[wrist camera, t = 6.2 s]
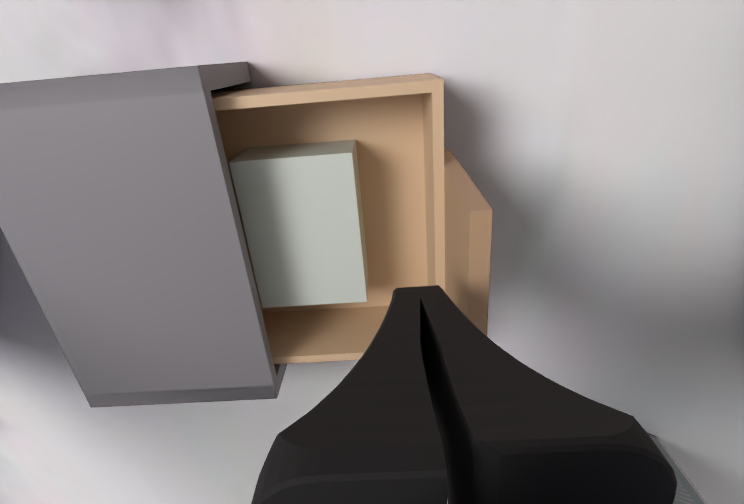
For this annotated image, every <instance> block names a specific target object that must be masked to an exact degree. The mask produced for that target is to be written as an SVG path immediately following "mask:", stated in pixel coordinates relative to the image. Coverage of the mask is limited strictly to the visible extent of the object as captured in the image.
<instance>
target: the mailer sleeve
mask: <svg viewBox="0 0 744 504" xmlns="http://www.w3.org/2000/svg"><path fill="white" fill-rule="evenodd" d="M250 81H251V78H250V73H249V67H248V62H237V63H224V64H212V65H199V66H188V67H177V68H166V69H155V70H144V71H133V72H122V73H111V74H100V75H89V76H78V77H67V78H56V79H45V80H34V81H22V82H11V83H0V228H1V229H2V231H3V233H4V235H5V237H6V239H7V241H8V243H9V245H10V247H11V249H12V251H13V253H14V255H15V257H16V259H17V261H18V263H19V265H20V267H21V269H22V271H23V273H24V275H25V277H26V279H27V281H28V283H29V285H30V287H31V289H32V291H33V293H34V295H35V297H36V299H37V301H38V303H39V305H40V307H41V309H42V311H43V313H44V315H45V317H46V319H47V321H48V323H49V325H50V327H51V329H52V331H53V333H54V335H55V337H56V339H57V341H58V343H59V345H60V347H61V349H62V351H63V353H64V355H65V357H66V359H67V361H68V363H69V365H70V367H71V369H72V371H73V373H74V375H75V377H76V379H77V381H78V383H79V385H80V387H81V389H82V391H83V393H84V395H85V397H86V399H87V401H88V403H89V405H90V407H109V406H130V405H151V404H171V403H192V402H213V401H233V400H254V399H274V398H277V396H278V393H279V390H280V386H281V383H282V380H283V376H284V373H285V370H286V366H287V363H286V364H274V362H273V358H272V354H271V349H270V345H269V341H268V337H267V332H266V328H265V324H264V319H263V315H262V311H261V306H260V302H259V298H258V294H257V289H256V285H255V281H254V276H253V272H252V268H251V264H250V259H249V255H248V251H247V246H246V242H245V238H244V233H243V229H242V225H241V221H240V216H239V212H238V208H237V203H236V199H235V195H234V191H233V186H232V182H231V178H230V173H229V169H228V165H227V160H226V156H225V152H224V148H223V143H222V139H221V135H220V130H219V126H218V122H217V118H216V113H215V109H214V105H213V100H212V96H211V92H210V91H211V90H216V89H220V88H224V87H229V86H233V85H237V84H241V83H246V82H250Z"/></svg>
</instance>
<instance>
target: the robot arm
mask: <svg viewBox="0 0 744 504" xmlns="http://www.w3.org/2000/svg"><path fill="white" fill-rule="evenodd" d="M676 489H677V480H676V476H675V473H674V470H673V468H672V467H671V465H670V464H669V462H668V461H667V460H666V458H665V457H664V455H663V454H662V453H661V451H660V449H659V448H658V447H657V445H656V444H655V443H654V441H653V440H652V439H651V437H650V436H649V435H648V434H647V433H646V431H645V430H644V429H643V428H642V427H641V425H640V424H639V423H638V422H637V421H636V419H635V418H634V417H633V416H631V415H628V414H626V413H623V412H621V411H618V410H616V409H613V408H611V407H608V406H606V405H603V404H601V403H598V402H596V401H593V400H591V399H588V398H586V397H584V396H582V395H580V394H578V393H575V392H573V391H571V390H569V389H567V388H565V387H563V386H561V385H559V384H557V383H555V382H553V381H552V380H550V379H548V378H546V377H544V376H543V375H541V374H539V373H538V372H536V371H534V370H533V369H531V368H529V367H528V366H526V365H524V364H523V363H521V362H520V361H518V360H517V359H515V358H514V357H512V356H511V355H510V354H508V353H507V352H506V351H504V350H503V349H501V348H500V347H499V346H497V345H496V344H495V343H494V342H493V341H491V340H490V339H489V338H488V337H487V336H486V335H485V334H483V333H482V332H481V331H480V330H479V329H478V328H477V327H476V326H475V325H474V324H473V323H472V322H471V321H470V320H469V319H468V318H467V317H466V316H465V315H464V314H463V313H462V312H461V311H460V309H459V308H458V307H457V306H456V305H455V304H454V303H453V301H452V300H451V299H450V298H449V297H448V295H447V294H446V293H445V292H444V290H443V289H442V288H441V287H440V286H439V285H434V286H418V287H402V288H396V289H395V290H394V291H393V295H392V299H391V302H390V305H389V308H388V310H387V313H386V315H385V317H384V319H383V321H382V324H381V326H380V328H379V330H378V331H377V333H376V335H375V337H374V338H373V340H372V342H371V343H370V345H369V347H368V348H367V350H366V351H365V353H364V354H363V356H362V357H361V358H360V360H359V361H358V362H357V364H356V365H355V366H354V367H353V369H352V370H351V371H350V372H349V373H348V375H347V376H346V377H345V378H344V379H343V380H342V382H341V383H340V384H339V385H338V386H337V387H336V388H335V389H334V390H333V391H332V392H331V393H330V394H329V395H327V396H326V397H325V398H324V399H323V400H322V401H321V402H320V403H319V404H318V405H317V406H316V407H314V408H313V409H312V410H311V411H310V412H308V413H307V414H306V415H304V416H303V417H301V418H300V419H299V420H297V421H296V422H295V423H293V424H292V425H290V426H289V427H288V428H286V429H285V430H283V431H282V432H280V433H279V434H278V435H277V437H276V439H275V441H274V443H273V445H272V447H271V449H270V451H269V453H268V456H267V458H266V461H265V463H264V465H263V467H262V470H261V473H260V475H259V478H258V481H257V485H256V488H255V492H254V496H253V500H252V503H251V504H447V499H448V504H673V502H674V499H675V496H676Z"/></svg>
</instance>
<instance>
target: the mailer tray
mask: <svg viewBox="0 0 744 504" xmlns="http://www.w3.org/2000/svg"><path fill="white" fill-rule="evenodd" d="M211 96H212V100H213V105H214V109H215V113H216V118H217V122H218V126H219V130H220V135H221V139H222V143H223V148H224V152H225V156H226V160H227V165H228V169H229V173H230V178H231V182H232V186H233V191H234V195H235V199H236V203H237V208H238V212H239V216H240V221H241V225H242V229H243V233H244V238H245V242H246V246H247V251H248V255H249V259H250V264H251V268H252V272H253V276H254V281H255V285H256V289H257V294H258V298H259V302H260V306H261V311H262V315H263V319H264V324H265V328H266V332H267V337H268V341H269V345H270V349H271V354H272V358H273V362H274V364H286V363H305V362H324V361H343V360H360V358H361V357H362V356H363V354H364V353H365V351H366V350H367V348H368V347H369V345H370V343H371V342H372V340H373V338H374V337H375V335H376V333H377V331H378V330H379V328H380V326H381V324H382V321H383V319H384V317H385V315H386V313H387V310H388V308H389V305H390V302H391V299H392V295H393V291H394V290H395V289H396V288H402V287H418V286H434V285H439V286H440V287H441V288H442V289H443V290H444V292H445V293H446V294H447V295H448V297H449V298H450V299H451V300H452V301H453V303H454V304H455V305H456V306H457V307H458V308H459V309H460V311H461V312H462V313H463V314H464V315H465V316H466V317H467V318H468V319H469V320H470V321H471V322H472V323H473V324H474V325H475V326H476V327H477V328H478V329H479V330H480V331H481V332H482V333H483V334H485V335H486V336H487V321H488V300H489V278H490V256H491V235H492V213H493V209H492V208H491V207H490V205H489V204H488V202H487V201H486V200H485V198H484V197H483V195H482V194H481V193H480V191H479V190H478V188H477V187H476V185H475V184H474V183H473V181H472V180H471V178H470V177H469V176H468V174H467V173H466V171H465V170H464V169H463V167H462V166H461V164H460V163H459V162H458V160H457V159H456V157H455V156H454V154H453V153H452V152H451V150H444V79H442V78H440V77H438V76H435V75H433V74H431V73H426V74H415V75H403V76H392V77H380V78H369V79H357V80H346V81H334V82H323V83H311V84H300V85H288V86H277V87H265V88H254V89H242V90H231V91H219V92H211Z"/></svg>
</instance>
